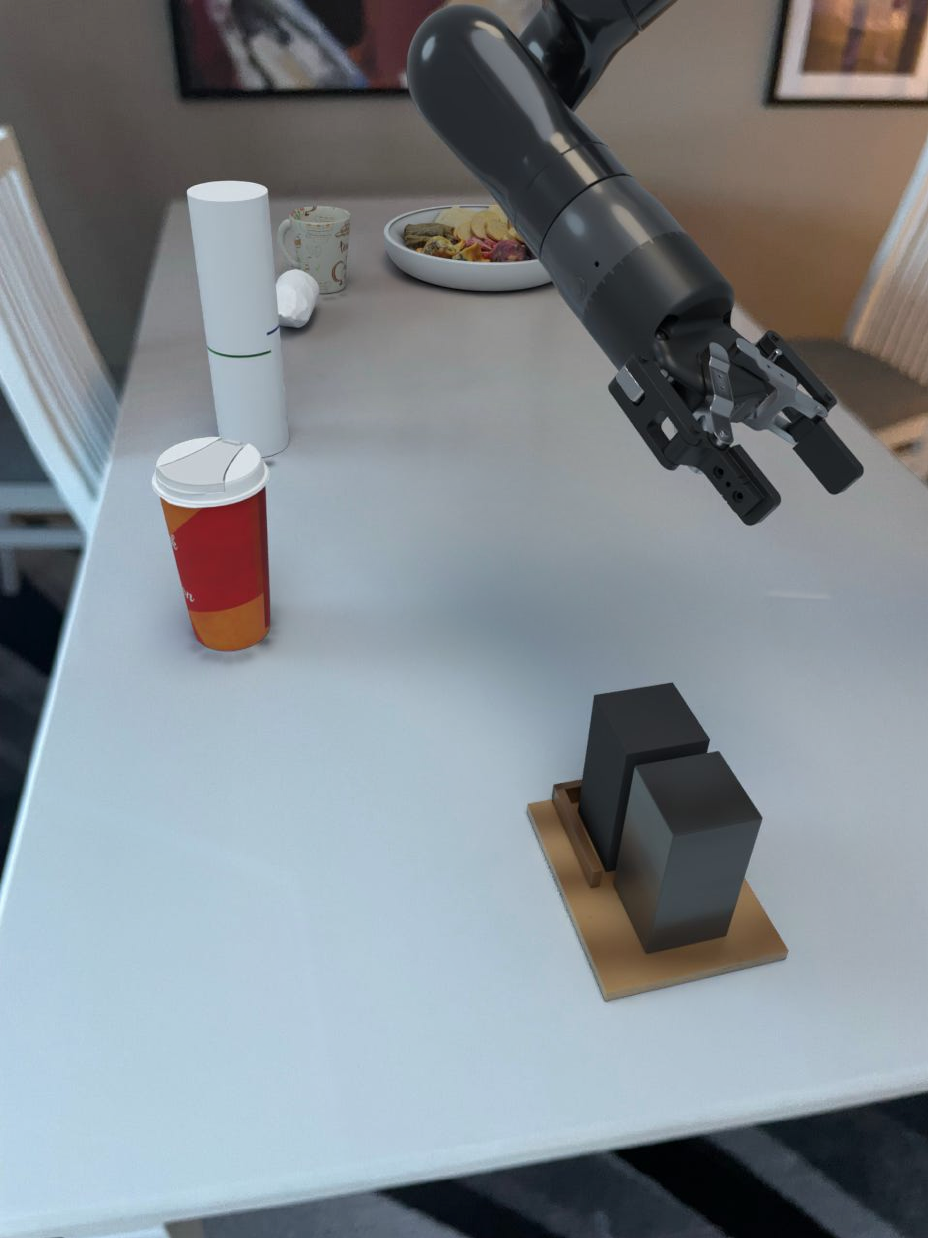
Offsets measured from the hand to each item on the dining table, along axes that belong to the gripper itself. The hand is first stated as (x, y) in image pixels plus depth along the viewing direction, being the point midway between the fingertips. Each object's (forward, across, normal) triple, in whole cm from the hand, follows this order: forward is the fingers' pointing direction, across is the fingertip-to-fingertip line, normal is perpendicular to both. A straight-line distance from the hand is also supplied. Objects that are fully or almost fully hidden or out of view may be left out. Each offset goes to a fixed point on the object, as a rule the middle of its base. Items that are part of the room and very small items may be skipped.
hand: (810, 499), depth 53 cm
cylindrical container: (-45, +7, +49) cm, 67 cm away
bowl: (-74, +65, +54) cm, 112 cm away
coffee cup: (-21, -12, +39) cm, 46 cm away
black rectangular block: (+9, -5, +21) cm, 24 cm away
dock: (+12, -6, +21) cm, 25 cm away
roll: (-69, +28, +58) cm, 94 cm away
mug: (-80, +39, +62) cm, 109 cm away
